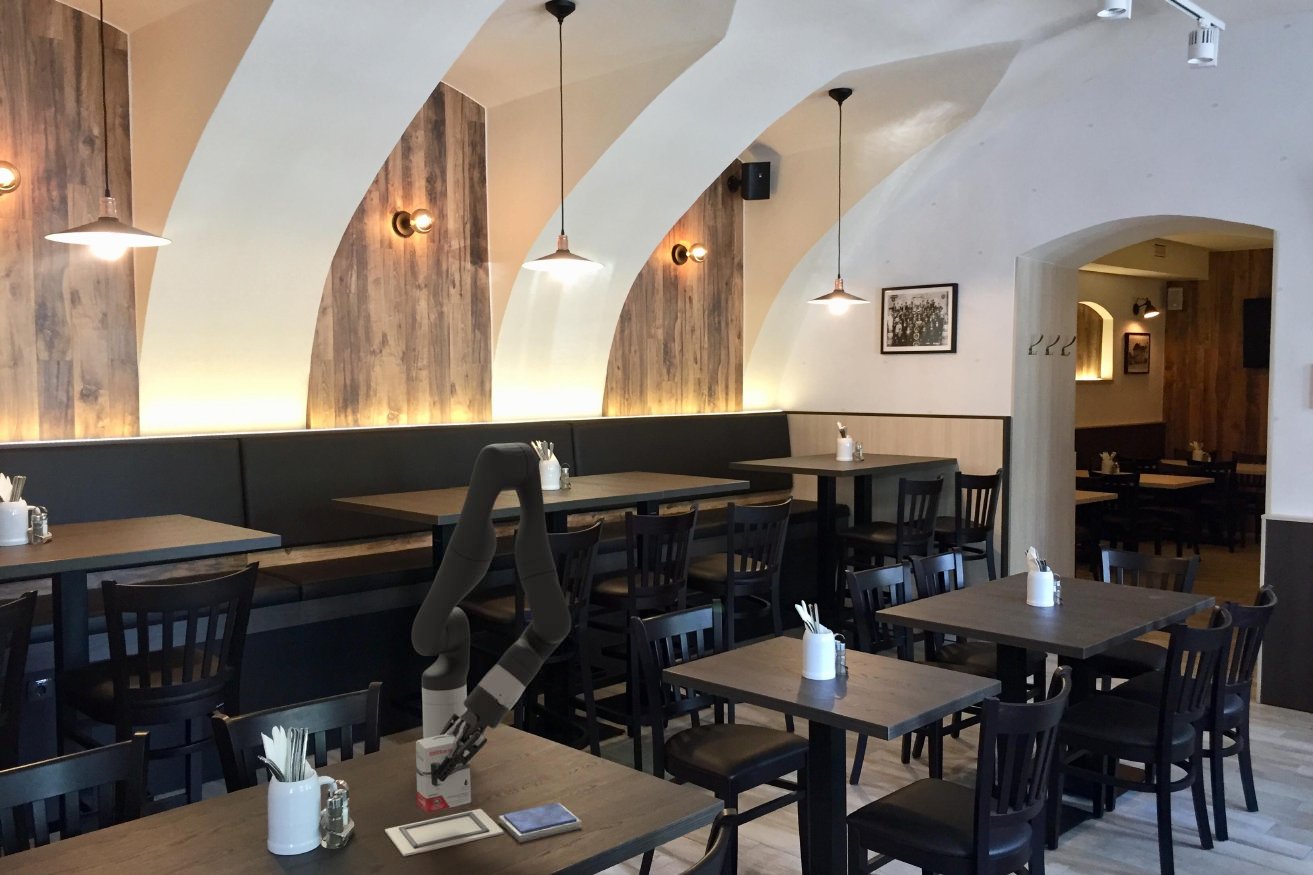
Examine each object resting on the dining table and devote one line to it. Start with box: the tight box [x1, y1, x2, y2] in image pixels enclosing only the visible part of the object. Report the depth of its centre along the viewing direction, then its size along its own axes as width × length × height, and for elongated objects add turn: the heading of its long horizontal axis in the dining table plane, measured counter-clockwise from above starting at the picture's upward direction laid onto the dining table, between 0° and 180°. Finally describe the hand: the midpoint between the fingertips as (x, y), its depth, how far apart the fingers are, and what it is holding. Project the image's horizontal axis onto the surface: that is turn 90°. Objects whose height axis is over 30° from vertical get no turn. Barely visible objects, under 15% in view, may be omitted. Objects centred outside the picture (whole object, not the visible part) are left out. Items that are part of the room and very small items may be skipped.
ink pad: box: [498, 802, 583, 843], centre depth 193 cm, size 10×12×2 cm
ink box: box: [415, 734, 472, 814], centre depth 190 cm, size 8×5×12 cm, turn 123°
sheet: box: [384, 808, 505, 857], centre depth 190 cm, size 12×18×1 cm, turn 119°
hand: (433, 773), depth 189 cm, fingers closed on ink box, 5 cm apart
